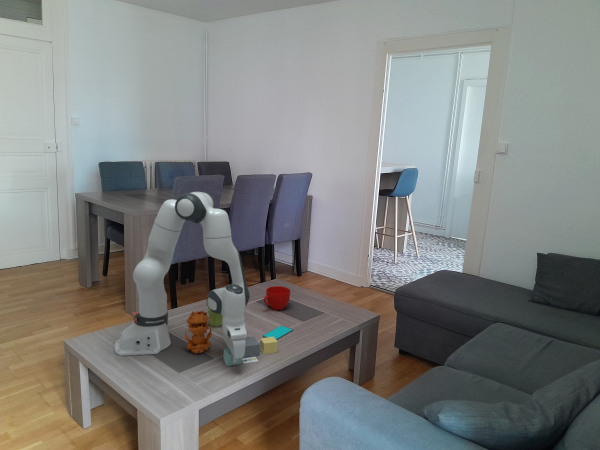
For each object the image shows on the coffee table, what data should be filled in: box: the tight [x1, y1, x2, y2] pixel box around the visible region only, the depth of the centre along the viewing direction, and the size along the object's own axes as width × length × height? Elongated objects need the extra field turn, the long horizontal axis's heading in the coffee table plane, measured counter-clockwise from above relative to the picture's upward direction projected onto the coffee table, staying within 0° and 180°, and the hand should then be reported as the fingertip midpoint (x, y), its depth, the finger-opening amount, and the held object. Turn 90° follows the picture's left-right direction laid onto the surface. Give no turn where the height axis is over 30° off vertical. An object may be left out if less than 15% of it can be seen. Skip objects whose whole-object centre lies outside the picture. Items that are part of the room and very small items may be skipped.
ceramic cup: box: [263, 285, 291, 311], centre depth 234 cm, size 13×17×10 cm
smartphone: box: [262, 325, 294, 341], centre depth 205 cm, size 7×1×15 cm
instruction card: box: [241, 356, 259, 364], centre depth 179 cm, size 6×4×1 cm, turn 113°
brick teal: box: [223, 347, 243, 367], centre depth 176 cm, size 6×5×5 cm
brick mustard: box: [259, 337, 278, 355], centre depth 187 cm, size 6×5×5 cm
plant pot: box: [206, 306, 223, 328], centre depth 211 cm, size 9×9×9 cm
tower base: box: [242, 336, 261, 359], centre depth 185 cm, size 8×8×5 cm
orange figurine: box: [184, 310, 213, 354], centre depth 183 cm, size 11×11×18 cm
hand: (232, 358), depth 176 cm, fingers closed on brick teal, 5 cm apart
